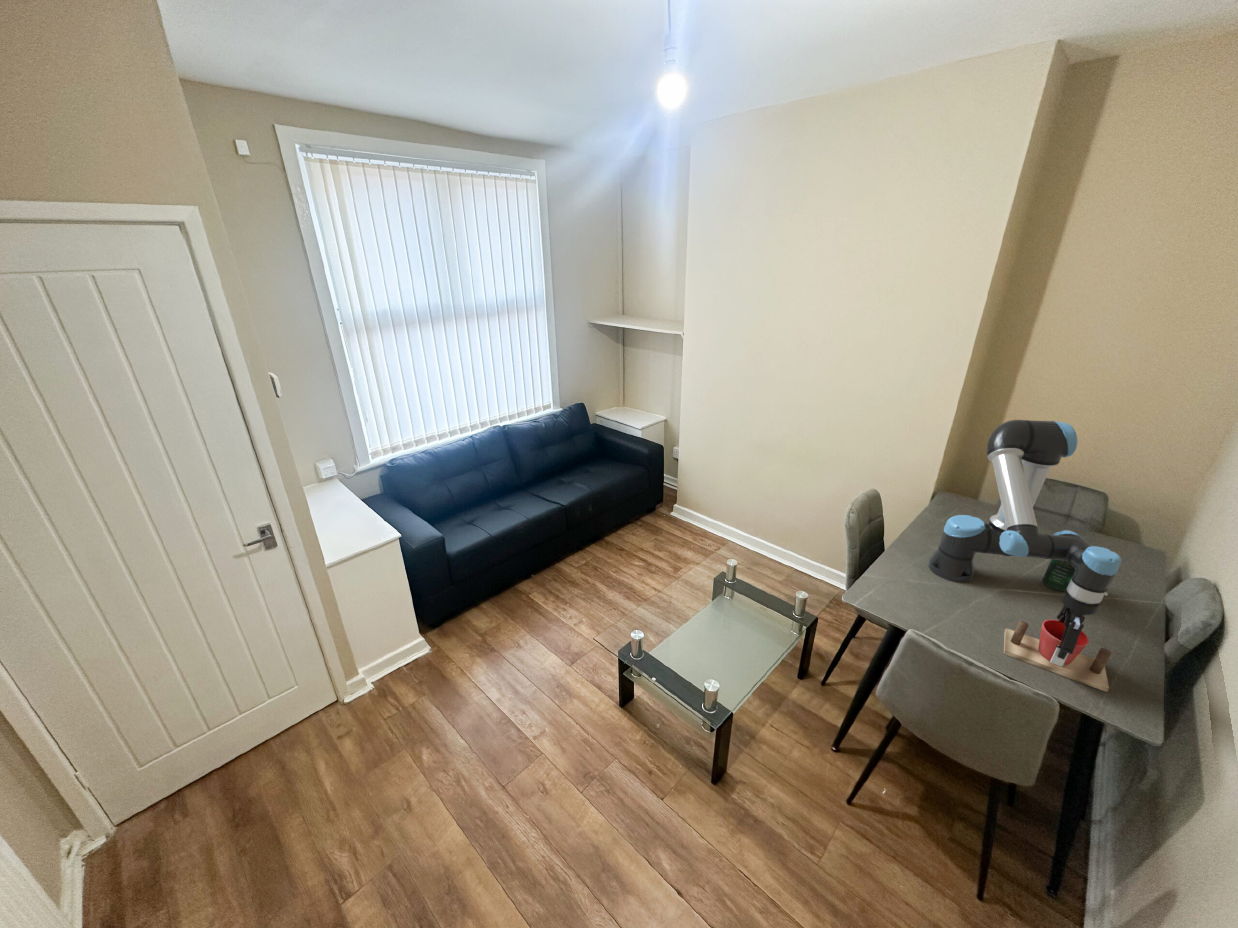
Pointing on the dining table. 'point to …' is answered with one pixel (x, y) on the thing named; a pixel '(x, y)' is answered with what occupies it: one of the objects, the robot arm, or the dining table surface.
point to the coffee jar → (1058, 575)
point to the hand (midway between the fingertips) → (1055, 652)
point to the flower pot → (1058, 640)
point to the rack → (1077, 670)
